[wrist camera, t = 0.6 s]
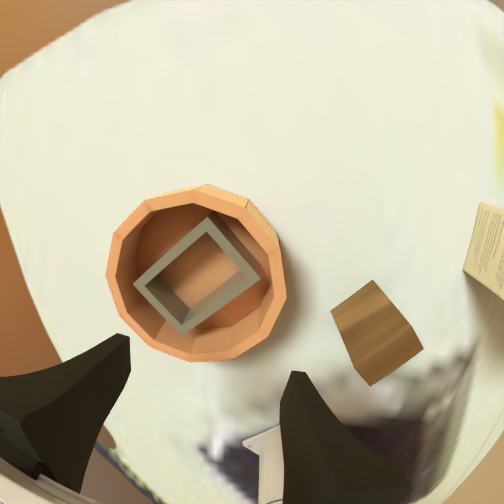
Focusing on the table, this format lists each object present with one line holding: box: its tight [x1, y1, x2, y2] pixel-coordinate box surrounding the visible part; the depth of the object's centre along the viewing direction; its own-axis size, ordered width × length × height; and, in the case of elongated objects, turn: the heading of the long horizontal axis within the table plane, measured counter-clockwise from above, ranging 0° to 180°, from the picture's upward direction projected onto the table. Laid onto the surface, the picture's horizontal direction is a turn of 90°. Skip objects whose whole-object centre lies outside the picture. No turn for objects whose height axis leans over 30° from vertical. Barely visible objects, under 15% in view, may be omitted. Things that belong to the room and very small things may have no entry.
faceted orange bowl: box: [106, 184, 287, 362], centre depth 19 cm, size 11×11×4 cm
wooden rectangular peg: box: [331, 280, 424, 386], centre depth 18 cm, size 2×4×7 cm, turn 130°
